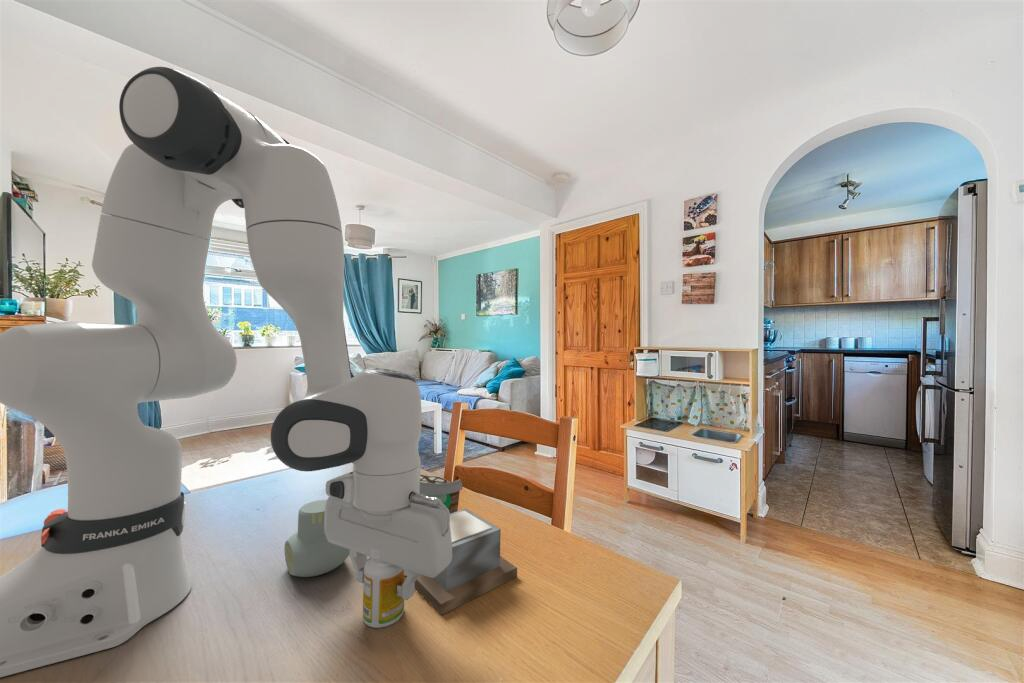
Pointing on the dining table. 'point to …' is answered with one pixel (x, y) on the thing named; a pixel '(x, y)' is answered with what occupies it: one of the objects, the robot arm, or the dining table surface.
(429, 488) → the food container
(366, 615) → the supplement bottle
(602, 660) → the dining table surface
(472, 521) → the pedestal
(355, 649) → the dining table surface
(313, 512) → the air freshener
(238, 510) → the dining table surface
